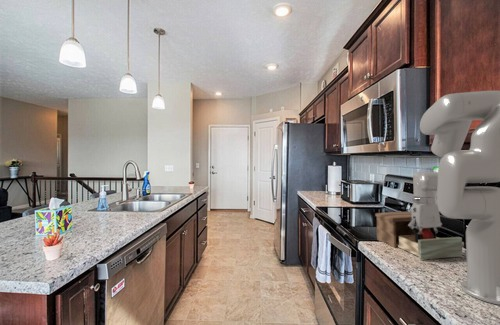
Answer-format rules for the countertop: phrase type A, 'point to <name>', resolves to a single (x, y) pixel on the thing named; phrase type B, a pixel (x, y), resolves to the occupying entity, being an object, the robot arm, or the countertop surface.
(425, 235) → the onion
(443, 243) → the drawer
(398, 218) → the cabinet
